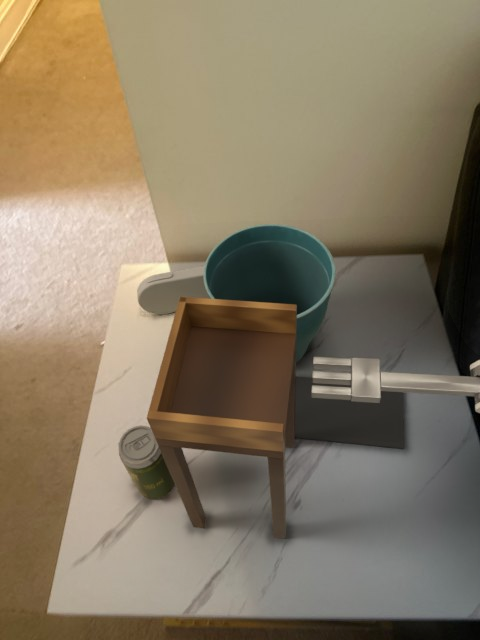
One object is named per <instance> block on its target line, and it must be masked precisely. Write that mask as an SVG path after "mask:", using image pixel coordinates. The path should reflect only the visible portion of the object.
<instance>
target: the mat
mask: <svg viewBox="0 0 480 640" xmlns="http://www.w3.org/2000/svg"><path fill="white" fill-rule="evenodd" d="M312 385H318V386H335V387H351V385H339V384H322V383H312V377H310V376H298V375H296V400H295V439H300V440H301V439H302V440H311V441H321V442H329V443H331V442H332V443H340V444H350V445H360V446H369V447H377V448H378V447H379V448H387V449H389V448H390V449H398V450H405V426H404V425H405V424H404V423H405V422H404V395H403V394H404V392H390V391H381V399H380V403H371V402H355V401H351V400H341V399H325V398H312V397H311V390H312Z"/></svg>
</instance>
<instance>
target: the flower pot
mask: <svg viewBox="0 0 480 640" xmlns="http://www.w3.org/2000/svg"><path fill="white" fill-rule="evenodd" d="M203 266H204V273H203V278H204V284H205V288H206V291H207V293H208V295H209V297H210V299H222V300H236V301H251V302H265V303H280V304H294V305H297V331H296V363H298V362H299V361H300V360H301V359H302V358H303V357H304V355H305V354H306V353H307V351H308V348H309V345H310V343H311V341H313V339H314V338H315V337H316V335H317V334H318V332H319V330H320V329H321V327H322V325H323V322H324V319H325V316H326V313H327V310H328V305H329V301H330V298H331V295H332V292H333V290H334V286H335V283H336V276H337V270H336V269H337V268H336V262H335V260H334V257H333V255H332V253H331V251H330V249H329V248H328V247H327V245H325V243H324V242H322V240H320V238H318V237H317V236H315V235H314V234H312V233H310V232H308V231H306V230H304V229H301V228H299V227H296V226H292V225H287V224H279V223H264V224H256V225H251V226H248V227H245V228H242V229H239V230H236V231H234V232H232V233H231V234H229V235H227V236H226V237H225V238H223V239H222V240H221V241H219V242H218V243H217V244H216V245H215V246H214V247H213V249H212V250H211V251H210V253H209V255H208V256H207V258H206V260H205V262H204V265H203Z"/></svg>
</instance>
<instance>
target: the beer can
mask: <svg viewBox="0 0 480 640" xmlns="http://www.w3.org/2000/svg"><path fill="white" fill-rule="evenodd" d="M118 456H119V459H120V461H121V463H122V464H123V466H124V468H125V470H126V472H127V474H128V475H129V476H130V478H131V480H132V482H133V483H134V485H135V487H136V489H137V490H138V492H139V493H140V494H141V496H142V497H144V498H146V499H148V500H160V499H163V498H164V497H167V496H168V495H169V494H170V493H171V492H172V491H173V489H174V487H175V483H174V481H173V479H172V476H171V474H170V472H169V469H168V467H167V465H166V462H165V460H164V458H163V455H162V453H161V451H160V448H159V446H158V444H157V441H156V439H155V437H154V434H153V432H152V430H151V427H150V426H147V425H142V424H141V425H136V426H133V427H130V428H129V429H127V430H126V431H125V432H124V433H123V434H122V435H121V437H120V438H119V442H118Z"/></svg>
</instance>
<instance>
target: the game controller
mask: <svg viewBox="0 0 480 640" xmlns="http://www.w3.org/2000/svg"><path fill="white" fill-rule="evenodd" d="M204 266H205V265H202V266H195V267H191V268H185V269H179V270H173V271H168V272H161V273H157V274H153V275H150V276H148V277H146V278H144V279H143V280H142V281H141V282H140V283H139V284H138V287H137V288H136V289H137V290H136V294H137V295H136V296H137V303H138V305H139V306H140V308H141V309H142V310H144V311H145V312H147V313H150V314H154V315H169V314H172V313H175V312H176V309H177V305H178V301H179V298H180V297H192V298H207V299H210V297H209V295H208V293H207V291H206V288H205V284H204V278H203V273H204Z"/></svg>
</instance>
